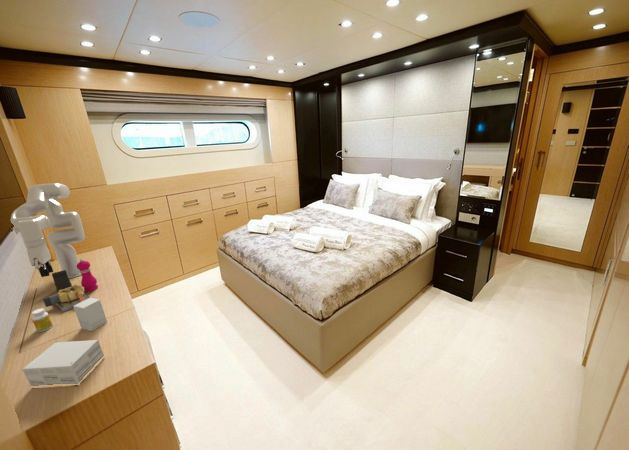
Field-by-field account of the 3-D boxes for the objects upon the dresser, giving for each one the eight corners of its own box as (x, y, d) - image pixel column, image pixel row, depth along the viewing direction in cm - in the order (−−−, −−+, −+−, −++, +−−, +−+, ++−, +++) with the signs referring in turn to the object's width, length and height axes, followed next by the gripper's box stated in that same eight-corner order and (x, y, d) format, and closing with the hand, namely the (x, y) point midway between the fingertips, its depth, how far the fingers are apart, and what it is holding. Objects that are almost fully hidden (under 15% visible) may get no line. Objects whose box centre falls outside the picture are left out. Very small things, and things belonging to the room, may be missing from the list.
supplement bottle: (42, 333, 121) (34, 315, 118) (34, 331, 122) (26, 313, 119) (55, 325, 126) (49, 308, 123) (47, 323, 127) (40, 306, 124)
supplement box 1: (105, 357, 106) (99, 339, 103) (79, 386, 93) (70, 366, 90) (63, 360, 105) (55, 341, 102) (30, 389, 93) (20, 368, 90)
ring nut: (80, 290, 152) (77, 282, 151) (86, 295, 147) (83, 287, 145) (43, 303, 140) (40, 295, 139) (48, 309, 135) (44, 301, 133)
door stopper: (58, 288, 160) (52, 271, 156) (71, 285, 163) (65, 267, 160) (58, 294, 153) (51, 276, 149) (71, 290, 157) (65, 272, 153)
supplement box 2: (107, 321, 127) (100, 299, 123) (91, 331, 121) (83, 308, 117) (97, 319, 130) (90, 297, 126) (80, 328, 123) (72, 305, 119)
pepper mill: (102, 286, 161) (92, 256, 155) (91, 292, 154) (81, 261, 148) (91, 285, 161) (81, 256, 155) (80, 292, 155) (69, 261, 148)
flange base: (54, 302, 145) (50, 293, 143) (81, 292, 154) (78, 283, 153) (62, 312, 136) (59, 302, 134) (91, 300, 145) (88, 291, 144)
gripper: (34, 239, 141) (45, 269, 146) (16, 249, 126) (30, 283, 132) (52, 236, 144) (63, 266, 149) (37, 246, 129) (49, 279, 135)
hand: (47, 274), depth 140 cm, fingers open, 3 cm apart
